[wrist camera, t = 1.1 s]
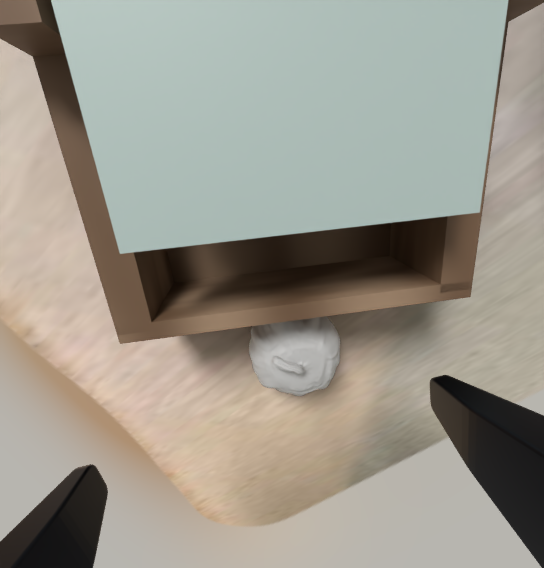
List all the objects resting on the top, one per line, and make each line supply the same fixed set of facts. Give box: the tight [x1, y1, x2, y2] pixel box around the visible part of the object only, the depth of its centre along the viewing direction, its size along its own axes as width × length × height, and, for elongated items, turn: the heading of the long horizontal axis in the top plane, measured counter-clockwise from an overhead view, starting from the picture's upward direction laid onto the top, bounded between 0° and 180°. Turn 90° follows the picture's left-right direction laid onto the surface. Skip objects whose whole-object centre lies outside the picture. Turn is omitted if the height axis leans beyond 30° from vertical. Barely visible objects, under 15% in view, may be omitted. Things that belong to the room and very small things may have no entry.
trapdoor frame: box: [0, 0, 544, 344], centre depth 12 cm, size 18×20×8 cm
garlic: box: [249, 316, 340, 396], centre depth 18 cm, size 6×5×5 cm
